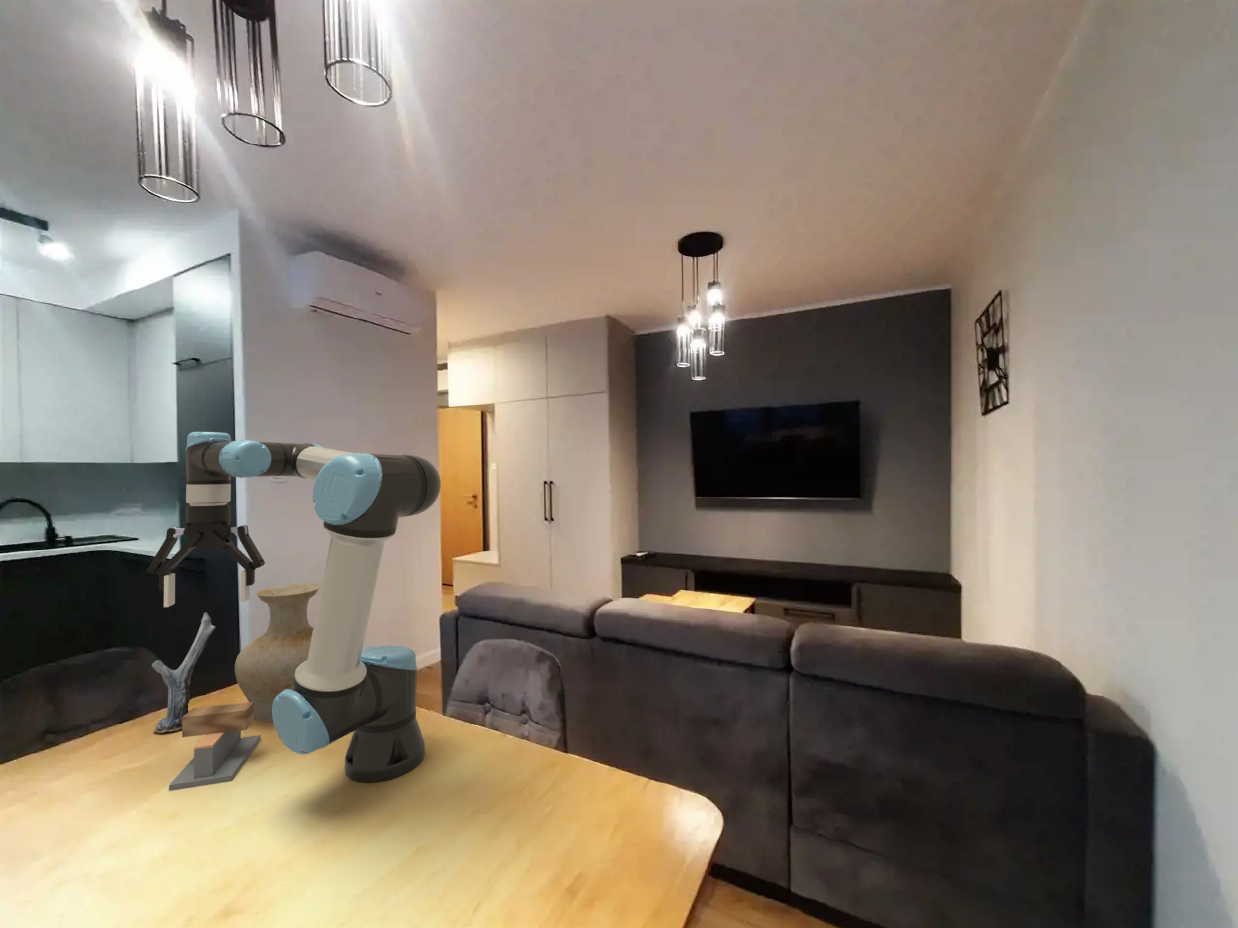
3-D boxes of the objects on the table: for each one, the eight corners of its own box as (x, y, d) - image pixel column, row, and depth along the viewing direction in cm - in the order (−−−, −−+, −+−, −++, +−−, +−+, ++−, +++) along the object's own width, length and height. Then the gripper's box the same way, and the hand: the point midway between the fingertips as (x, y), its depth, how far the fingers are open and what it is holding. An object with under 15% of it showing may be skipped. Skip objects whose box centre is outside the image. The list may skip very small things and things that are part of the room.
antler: (164, 737, 116) (165, 626, 116) (144, 730, 119) (145, 622, 119) (220, 714, 127) (221, 612, 127) (200, 709, 130) (201, 609, 130)
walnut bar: (254, 720, 110) (254, 701, 110) (246, 729, 106) (246, 710, 106) (192, 727, 107) (193, 708, 107) (182, 737, 103) (182, 717, 103)
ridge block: (260, 739, 115) (261, 707, 115) (231, 780, 100) (232, 744, 100) (207, 746, 112) (207, 714, 112) (168, 790, 97) (169, 753, 97)
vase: (254, 695, 137) (254, 583, 138) (345, 685, 144) (345, 578, 144) (217, 736, 117) (218, 603, 117) (326, 722, 123) (327, 596, 123)
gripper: (281, 501, 118) (280, 594, 118) (147, 504, 111) (146, 603, 110) (270, 504, 111) (269, 602, 111) (126, 506, 103) (125, 612, 103)
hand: (208, 603), depth 111 cm, fingers open, 13 cm apart
